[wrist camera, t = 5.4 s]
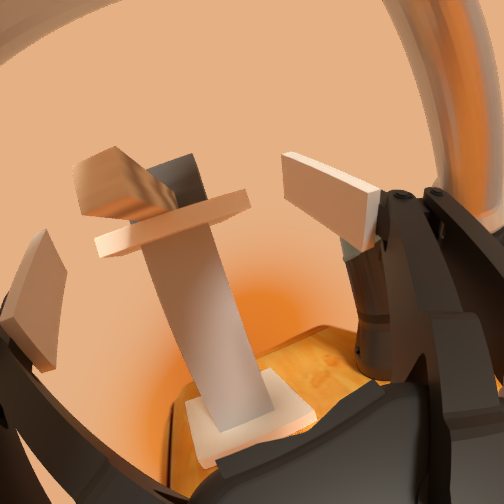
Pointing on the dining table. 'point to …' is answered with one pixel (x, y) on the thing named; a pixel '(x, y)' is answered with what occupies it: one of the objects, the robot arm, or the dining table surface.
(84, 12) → the robot arm
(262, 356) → the dining table surface
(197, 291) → the stand
